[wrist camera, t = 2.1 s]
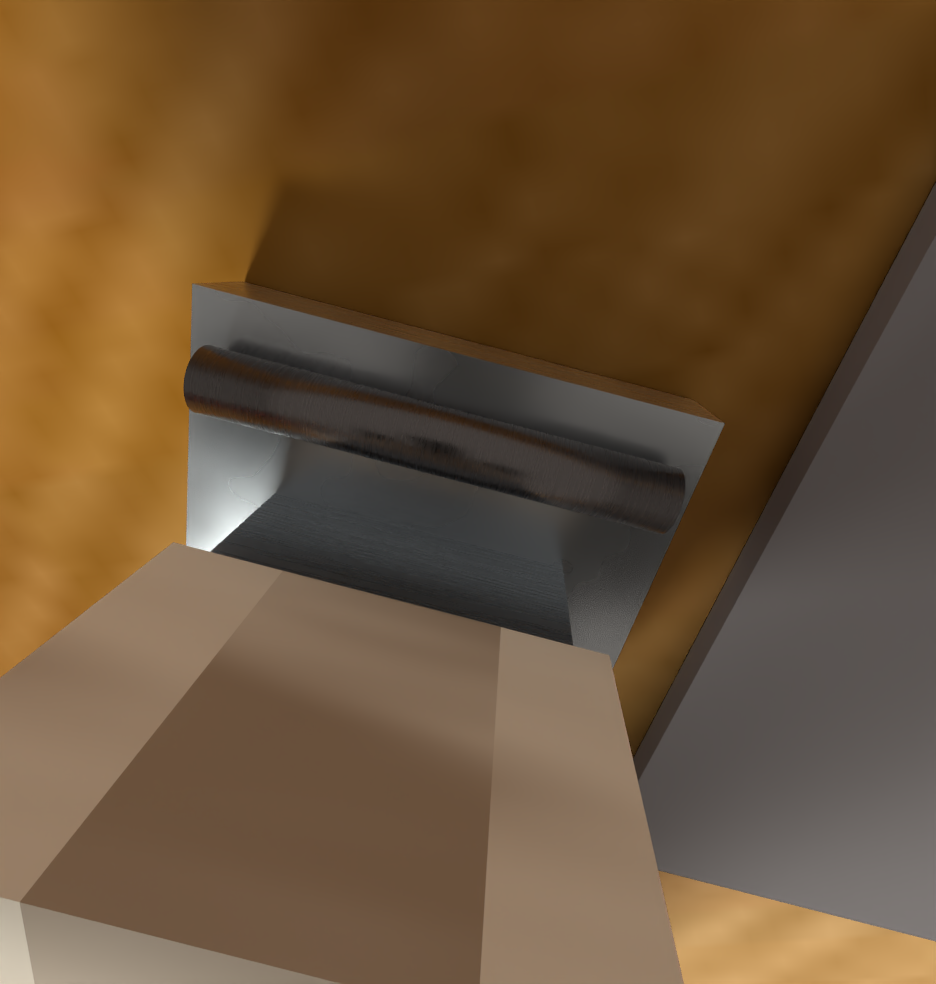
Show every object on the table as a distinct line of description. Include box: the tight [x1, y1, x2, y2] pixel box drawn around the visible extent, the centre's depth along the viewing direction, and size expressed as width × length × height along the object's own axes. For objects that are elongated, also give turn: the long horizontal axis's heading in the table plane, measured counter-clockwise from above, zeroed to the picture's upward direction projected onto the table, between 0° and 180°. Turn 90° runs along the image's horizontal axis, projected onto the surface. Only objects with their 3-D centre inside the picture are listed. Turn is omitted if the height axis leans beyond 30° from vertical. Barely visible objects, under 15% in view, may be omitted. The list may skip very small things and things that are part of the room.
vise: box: [184, 282, 725, 669], centre depth 8 cm, size 12×8×8 cm, turn 167°
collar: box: [0, 542, 684, 984], centre depth 6 cm, size 6×6×4 cm
